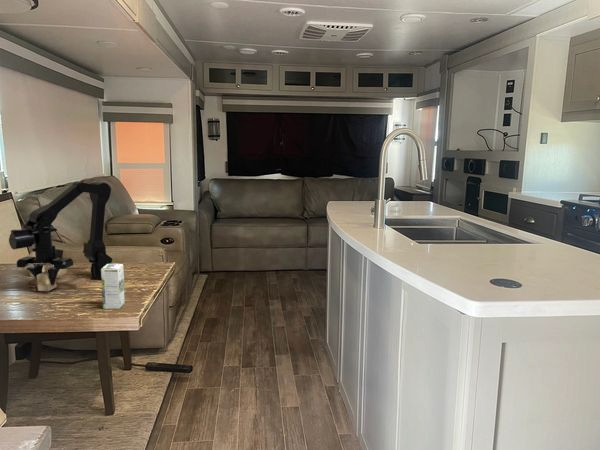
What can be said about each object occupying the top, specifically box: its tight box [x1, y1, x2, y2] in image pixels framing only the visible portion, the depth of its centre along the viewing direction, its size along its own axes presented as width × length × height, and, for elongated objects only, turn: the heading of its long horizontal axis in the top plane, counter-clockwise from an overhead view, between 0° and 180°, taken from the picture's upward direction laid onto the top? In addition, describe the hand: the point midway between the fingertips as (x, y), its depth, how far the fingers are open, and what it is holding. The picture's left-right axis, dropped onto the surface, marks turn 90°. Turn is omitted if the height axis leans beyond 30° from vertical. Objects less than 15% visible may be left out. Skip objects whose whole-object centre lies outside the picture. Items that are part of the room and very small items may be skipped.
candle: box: [27, 251, 46, 278], centre depth 187 cm, size 6×6×10 cm
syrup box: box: [101, 263, 126, 310], centre depth 153 cm, size 6×6×14 cm
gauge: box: [37, 268, 67, 292], centre depth 172 cm, size 4×14×6 cm, turn 175°
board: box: [26, 276, 87, 290], centre depth 176 cm, size 20×6×2 cm, turn 85°
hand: (47, 284), depth 168 cm, fingers closed on gauge, 4 cm apart
